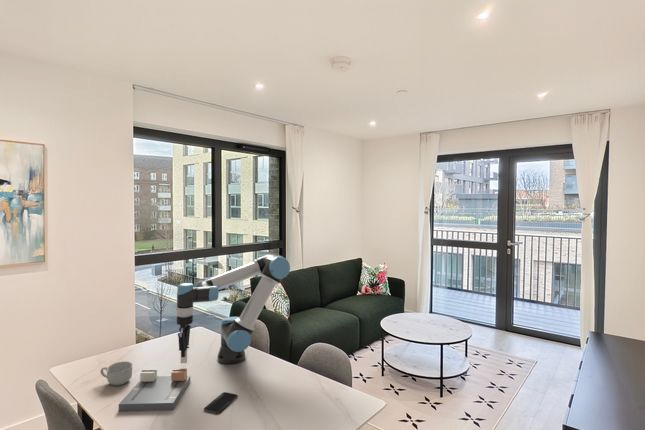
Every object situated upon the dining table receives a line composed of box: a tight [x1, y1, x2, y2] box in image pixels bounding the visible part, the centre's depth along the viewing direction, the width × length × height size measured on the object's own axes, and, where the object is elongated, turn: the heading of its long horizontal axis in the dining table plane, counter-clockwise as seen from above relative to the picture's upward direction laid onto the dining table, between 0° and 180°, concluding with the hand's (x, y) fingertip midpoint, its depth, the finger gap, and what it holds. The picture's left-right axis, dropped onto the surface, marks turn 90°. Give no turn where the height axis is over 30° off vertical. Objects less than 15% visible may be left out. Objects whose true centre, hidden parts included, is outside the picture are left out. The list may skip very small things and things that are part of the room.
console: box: [118, 375, 191, 412], centre depth 160 cm, size 22×24×3 cm
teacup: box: [100, 360, 133, 387], centre depth 171 cm, size 14×11×8 cm
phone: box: [203, 391, 238, 415], centre depth 154 cm, size 8×1×15 cm
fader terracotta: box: [170, 367, 188, 381], centre depth 168 cm, size 6×4×4 cm, turn 94°
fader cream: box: [139, 368, 158, 382], centre depth 167 cm, size 6×4×4 cm, turn 94°
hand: (183, 362), depth 176 cm, fingers closed
